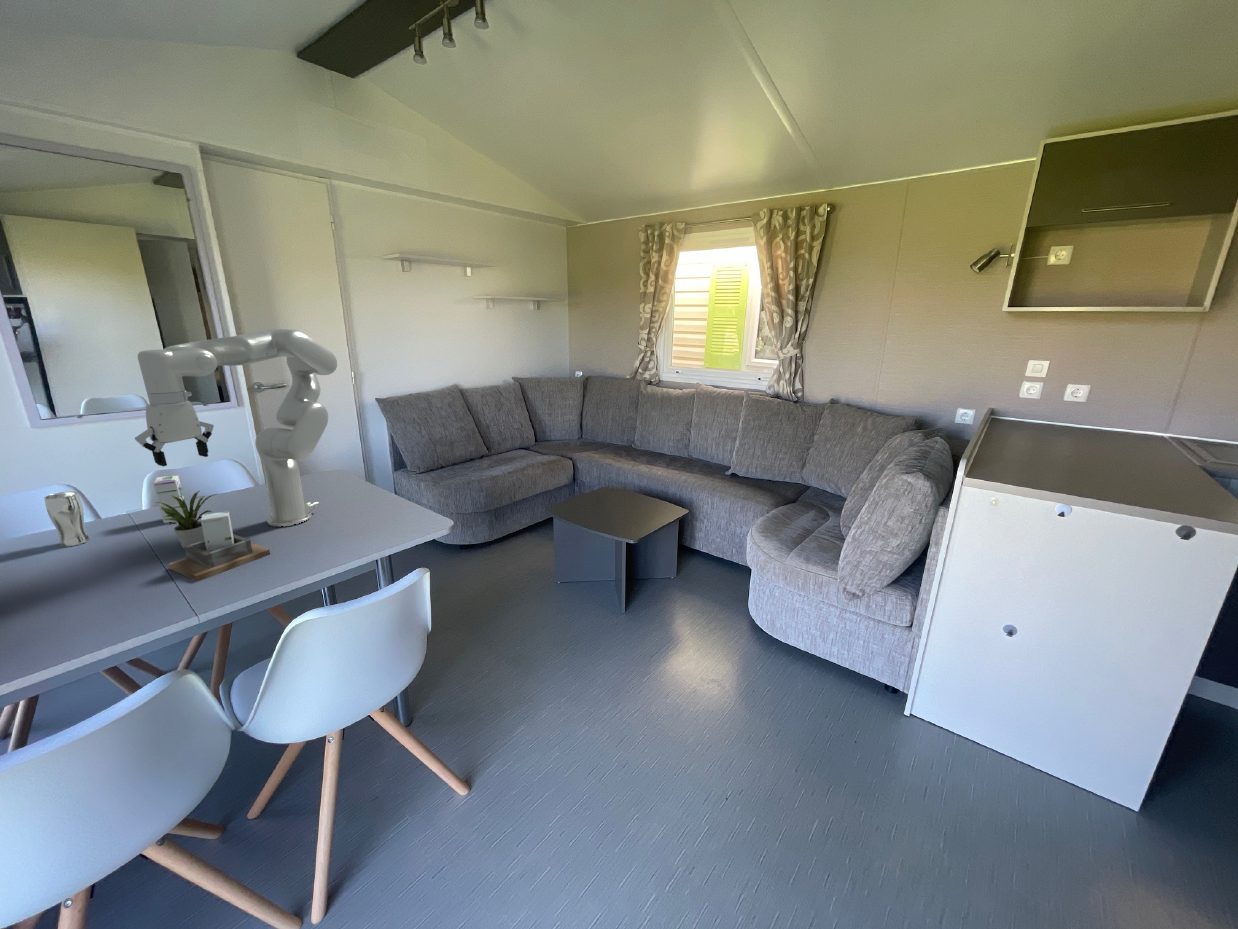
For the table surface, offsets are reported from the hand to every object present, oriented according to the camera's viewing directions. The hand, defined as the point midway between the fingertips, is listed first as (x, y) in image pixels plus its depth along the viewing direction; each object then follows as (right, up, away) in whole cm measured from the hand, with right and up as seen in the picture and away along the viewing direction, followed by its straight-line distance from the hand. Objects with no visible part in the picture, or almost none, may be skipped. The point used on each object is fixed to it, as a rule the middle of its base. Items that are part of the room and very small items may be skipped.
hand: (183, 460), depth 136 cm
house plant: (-8, -25, +14) cm, 30 cm away
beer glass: (-43, -24, +12) cm, 51 cm away
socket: (+7, -28, +4) cm, 29 cm away
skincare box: (+7, -27, +4) cm, 28 cm away
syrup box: (-29, -20, +31) cm, 47 cm away
